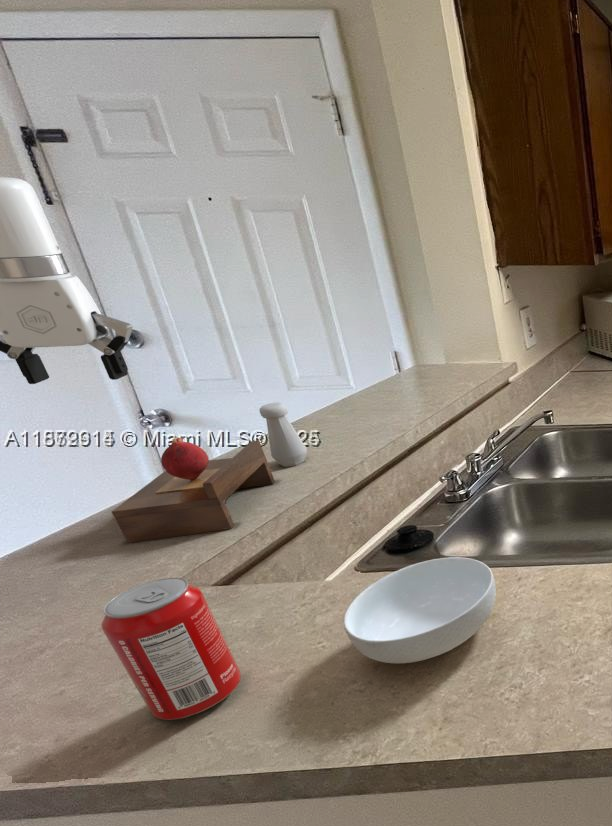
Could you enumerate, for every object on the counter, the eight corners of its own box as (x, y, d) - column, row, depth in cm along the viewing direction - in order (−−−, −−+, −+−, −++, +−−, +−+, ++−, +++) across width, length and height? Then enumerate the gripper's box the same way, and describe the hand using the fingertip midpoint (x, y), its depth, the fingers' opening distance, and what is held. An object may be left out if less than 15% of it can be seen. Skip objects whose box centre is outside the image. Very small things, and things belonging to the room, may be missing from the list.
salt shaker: (290, 455, 131) (269, 399, 125) (317, 456, 131) (297, 399, 125) (268, 468, 125) (245, 409, 120) (295, 468, 125) (273, 410, 120)
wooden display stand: (127, 543, 101) (102, 495, 97) (186, 492, 116) (167, 449, 112) (231, 528, 105) (211, 482, 101) (275, 481, 120) (259, 440, 117)
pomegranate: (212, 481, 107) (194, 440, 104) (168, 490, 104) (148, 448, 101) (217, 469, 112) (200, 429, 108) (175, 477, 109) (156, 436, 105)
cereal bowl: (450, 583, 92) (439, 544, 89) (530, 617, 85) (521, 575, 82) (329, 657, 78) (312, 613, 75) (413, 704, 71) (398, 658, 68)
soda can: (192, 730, 68) (134, 624, 62) (135, 719, 69) (71, 614, 63) (261, 677, 75) (214, 577, 69) (207, 668, 76) (157, 569, 70)
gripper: (-76, 272, 84) (-14, 390, 91) (88, 271, 89) (135, 382, 96) (-29, 265, 90) (26, 376, 97) (121, 264, 95) (163, 369, 102)
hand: (80, 379), depth 96 cm, fingers open, 9 cm apart
